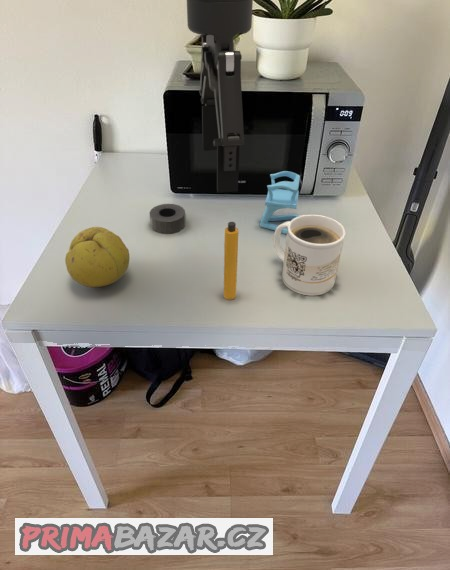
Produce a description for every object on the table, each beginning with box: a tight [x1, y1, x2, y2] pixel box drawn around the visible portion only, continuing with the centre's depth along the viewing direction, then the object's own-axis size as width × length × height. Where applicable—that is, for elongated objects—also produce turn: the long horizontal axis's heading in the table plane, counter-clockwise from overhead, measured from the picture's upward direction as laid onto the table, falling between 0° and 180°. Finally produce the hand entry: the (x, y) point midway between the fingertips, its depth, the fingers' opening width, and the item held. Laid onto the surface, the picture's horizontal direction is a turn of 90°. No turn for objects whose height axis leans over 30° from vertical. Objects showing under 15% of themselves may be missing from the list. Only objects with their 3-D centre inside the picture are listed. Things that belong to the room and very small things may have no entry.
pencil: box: [223, 221, 240, 301], centre depth 74 cm, size 2×2×15 cm
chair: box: [259, 170, 301, 235], centre depth 93 cm, size 8×8×12 cm
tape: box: [149, 203, 187, 235], centre depth 96 cm, size 8×8×3 cm
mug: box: [272, 213, 346, 297], centre depth 80 cm, size 10×12×11 cm
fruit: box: [64, 226, 130, 288], centre depth 78 cm, size 11×12×10 cm
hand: (218, 168), depth 63 cm, fingers open, 13 cm apart
